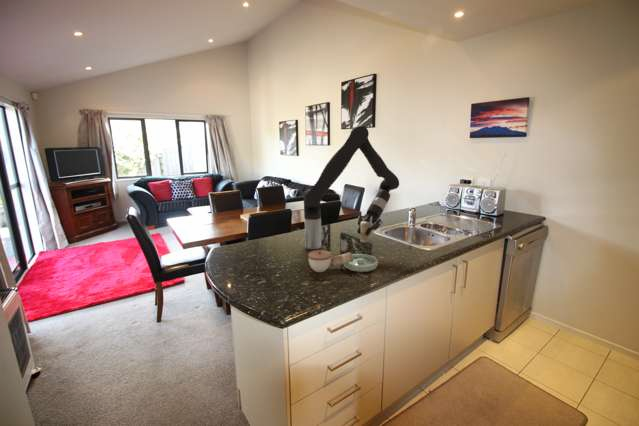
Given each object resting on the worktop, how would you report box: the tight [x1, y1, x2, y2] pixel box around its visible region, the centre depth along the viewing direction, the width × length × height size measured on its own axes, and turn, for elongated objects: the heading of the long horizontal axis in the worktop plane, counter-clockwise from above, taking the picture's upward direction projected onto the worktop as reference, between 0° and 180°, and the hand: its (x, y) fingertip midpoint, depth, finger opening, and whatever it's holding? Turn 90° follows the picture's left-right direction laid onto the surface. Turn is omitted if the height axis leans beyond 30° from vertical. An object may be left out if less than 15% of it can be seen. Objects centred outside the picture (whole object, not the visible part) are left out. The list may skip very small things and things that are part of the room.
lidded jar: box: [307, 249, 332, 273], centre depth 142 cm, size 11×11×9 cm
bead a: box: [359, 221, 370, 243], centre depth 156 cm, size 4×4×10 cm
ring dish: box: [343, 253, 379, 273], centre depth 147 cm, size 16×16×3 cm
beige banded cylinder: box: [331, 251, 353, 267], centre depth 143 cm, size 4×4×10 cm
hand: (362, 234), depth 155 cm, fingers closed on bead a, 4 cm apart
